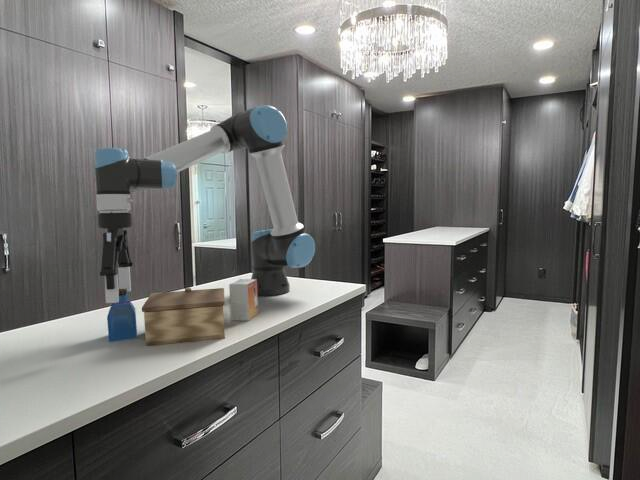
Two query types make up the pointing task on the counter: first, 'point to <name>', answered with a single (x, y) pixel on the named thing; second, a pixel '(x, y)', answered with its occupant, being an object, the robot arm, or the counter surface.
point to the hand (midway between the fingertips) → (119, 296)
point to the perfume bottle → (122, 319)
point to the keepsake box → (184, 325)
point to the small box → (243, 299)
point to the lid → (184, 299)
